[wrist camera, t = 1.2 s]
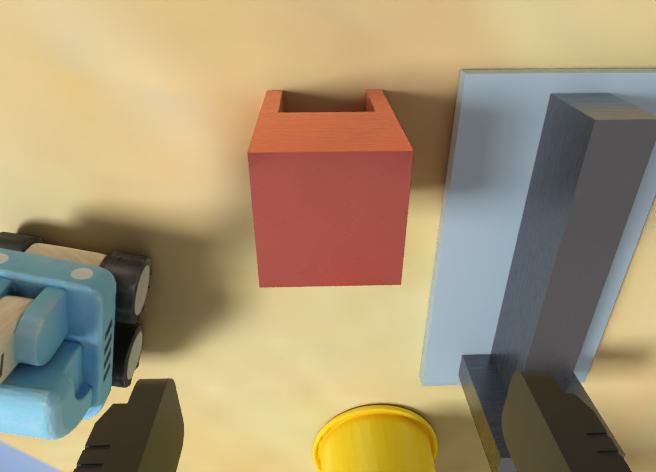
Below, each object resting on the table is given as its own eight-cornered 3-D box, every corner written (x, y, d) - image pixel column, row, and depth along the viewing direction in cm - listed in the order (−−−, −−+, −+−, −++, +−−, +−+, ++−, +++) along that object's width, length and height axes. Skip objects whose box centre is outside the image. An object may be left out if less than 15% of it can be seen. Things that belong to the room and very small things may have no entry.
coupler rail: (511, 93, 25) (589, 148, 18) (646, 92, 25) (775, 146, 18) (458, 375, 35) (494, 480, 28) (554, 372, 35) (614, 476, 28)
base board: (460, 69, 25) (465, 73, 24) (688, 68, 25) (701, 72, 24) (419, 375, 36) (422, 385, 35) (578, 371, 36) (584, 381, 36)
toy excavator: (164, 146, 27) (-18, 389, 12) (145, 362, 35) (22, 668, 20) (-3, 109, 25) (-445, 330, 10) (17, 343, 33) (-216, 655, 19)
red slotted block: (267, 90, 25) (247, 152, 17) (381, 89, 25) (413, 150, 18) (273, 195, 28) (259, 287, 20) (376, 193, 28) (400, 284, 21)
